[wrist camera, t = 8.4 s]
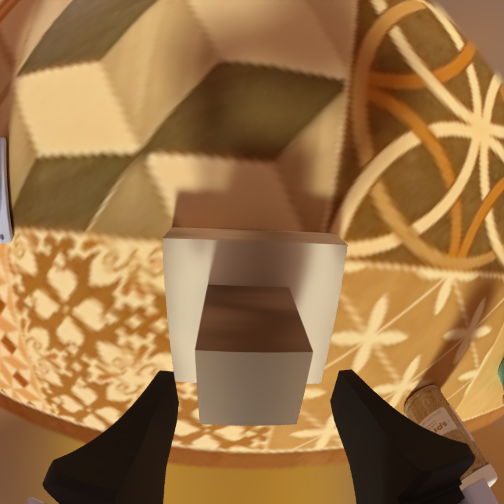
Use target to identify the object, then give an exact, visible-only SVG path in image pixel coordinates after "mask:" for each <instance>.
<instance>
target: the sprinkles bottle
mask: <svg viewBox="0 0 504 504" xmlns="http://www.w3.org/2000/svg"><path fill="white" fill-rule="evenodd" d="M404 414H405V415H406V416H407V417H408V418H409V419H410V420H412V421H413V422H415V423H417V424H418V425H420V426H422V427H424V428H426V429H428V430H430V431H432V432H434V433H437V434H439V435H442V436H444V437H447V438H450V439H453V440H456V441H460V442H463V443H467V444H468V445H469V447H470V449H471V450H472V452H473V454H474V455H475V461H474V463H473V464H472V466H471V467H470V468H469V469H468V470H467V471H466V472H465V473H464V474H463V475H462V476H461V477H460V480H461V482H462V485H461V486H459V487H460V489H461V491H462V490H463V489H464V488H466V487H468V486H469V485H471V484H473V483H475V482H477V481H478V480H480V479H482V478H485V480H486V482H487V484H488V485H489V487H490V486H492V485H493V484H494V483H495V481H496V480H497V475H496V473H495V471H494V469H493V467H492V466H491V465H490V464H488V462H487V461H486V460H485V458H484V457H483V455H482V453H481V452H480V450H479V448H478V447H477V445H476V444H475V440H474V439H473V437H472V436H471V434H470V432H469V431H468V429H467V428H466V426H465V425H464V423H463V422H462V420H461V419H460V417H459V416H458V415H457V413H456V412H455V410H454V409H453V407H452V406H451V405H450V404H449V403H448V402H447V400H446V398H445V397H444V396H443V394H442V393H441V390H440V388H439V387H438V386H436V385H429V386H426V387H423V388H421V389H420V390H418V391H417V392H415V393H414V394H413V395H412V396H411V397H410V398H409V399H408V401H407V402H406V404H405V406H404Z"/></svg>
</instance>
